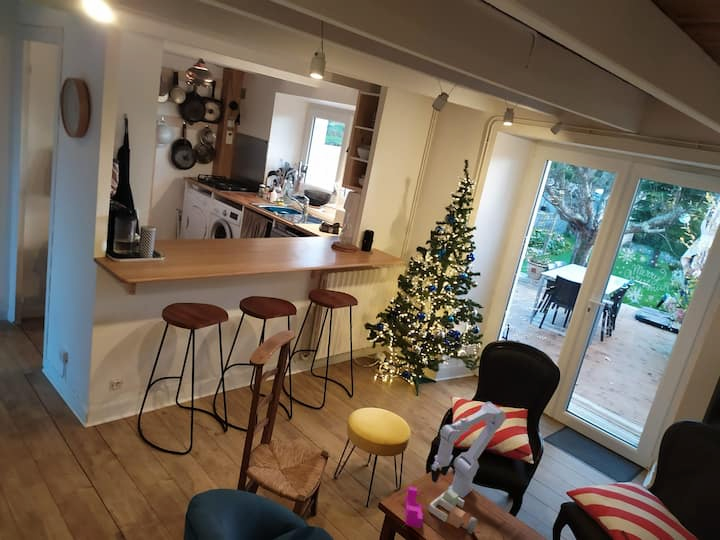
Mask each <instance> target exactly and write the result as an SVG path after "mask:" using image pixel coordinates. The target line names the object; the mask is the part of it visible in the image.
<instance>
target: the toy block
mask: <svg viewBox="0 0 720 540" xmlns="http://www.w3.org/2000/svg"><path fill="white" fill-rule="evenodd" d="M417 495H418V488H417V487H413V486H408V487H407V493H406V497H405V526H408V527H415V528H419V529H420V528H421V527H422V524H423V512H422V504H421V503H416V502H417Z"/></svg>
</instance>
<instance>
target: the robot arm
mask: <svg viewBox="0 0 720 540" xmlns="http://www.w3.org/2000/svg"><path fill="white" fill-rule="evenodd" d="M506 415H507V414H506V412H505V411H504V410H502V409H500V408H499V407H497V406H496V405H495V404H494V403H492V402H491V401H486V402H485V403H484V404H482V405H481V406H480V409H479V410H477V411H476V412H475V413H473V414H472V415H470V416H469V417H468V418H465V417H462V418H460V419H458V420H457V421H455V422H453V423H451V424H445V425H443V426H442V427H441V429H440V430H439V434H440V443H439V447H438V451H437V454H435V456H434V457H433V458H434V459H435V460H434V462H433V464H430V465H429V469H430V472H431V482H433V483H435V484H436V483H437V482H438V480H439V478H440V476H441V475H442V476H444V477H446V475H447V474H448V472H449V470H450V468H451V467H452V466H453V467H454V471H455V472H454V476H453V480H452V484H451V485H450V486H448V487H447V490H448V489H450V490H451V491H453V492H455V493H456V494H458V495H459V496H458V497H459V498H461V499H463V498H464V497H466V496H467V495H468V494H469V493H470V492H472V491H473V489H472V488H471V487H472V484H473V480H474V477H475V476H476V474H477V471H478V469H479V468H480V465H479V462H478V461H479V460H478V459H479V458H480V456H481V454H482V453H483V452H484V450H485V448H486V447H487V445H488V444H489V443H490V442H491V440H492V438H493V437H494V435H495V434H496V432H497V431H498V430H499V429H500V428H501V427H502V425H503V424H504V422H505V421H506V419H507V416H506ZM483 421H485V426H484V427H483V428H482V430H481V432H480V433H479V434H478V435H477V437H476V438H475V440H474V442H473V443H472V445H471V446H470V448H469V449H468V450H467V451H465V452H461V453H460V454H459V455H458V456H457V457H455V459H454V461H452V460H453V458H454V455H453V454H452V453H453V450H454V444H455V442H458V440H459V438H460V437H461V436H462V435H463V434H465V433H467V432H469V431H470V430H471V429H472V428H471V427H472V426H474V425H476V424H478V423H481V422H483ZM440 468H441V469H440Z"/></svg>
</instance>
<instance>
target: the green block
mask: <svg viewBox="0 0 720 540" xmlns="http://www.w3.org/2000/svg"><path fill="white" fill-rule="evenodd" d="M444 492H445V491H444ZM444 492H443V493H444ZM458 497H460V496H459V495H458V494H456V493H455V492H453V491H451V490H450V489H448V488H447V490H446V492H445V493H444V496H443V499H444V500H446V501H447V502H449V503H450V504H452V505H453V506H455V507H457V500H458Z"/></svg>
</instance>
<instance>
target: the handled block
mask: <svg viewBox="0 0 720 540" xmlns="http://www.w3.org/2000/svg"><path fill="white" fill-rule="evenodd" d="M465 517H466V512H465V510H462V509H460V508H459V507H457V506H455V507H454V508H453V509H452V510H451V511H449V515H448V518H447V523H448V524H450V525H451V526H452V527H455V528H457V529H458V530H459V529H460V527H461V528H463V529H465V530H466V532H467V533H468V534H470V535H473V534H474V533H473V530H474V529H476V525H477V521H478V519H477V518H476V517H474V516H471V517H470V518H469V522H468V525H467V526H466V525H464V524H463V522H464V519H465ZM474 531H475V530H474ZM472 533H473V534H472Z"/></svg>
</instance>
